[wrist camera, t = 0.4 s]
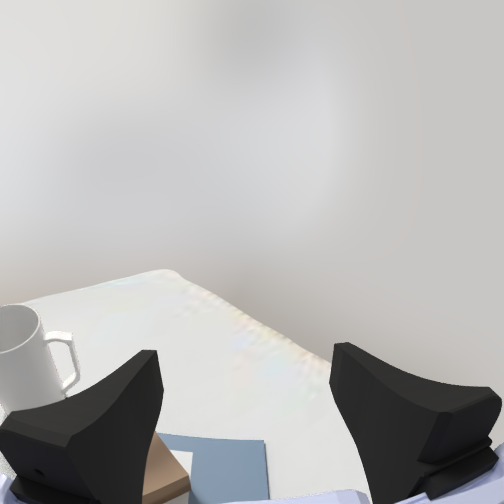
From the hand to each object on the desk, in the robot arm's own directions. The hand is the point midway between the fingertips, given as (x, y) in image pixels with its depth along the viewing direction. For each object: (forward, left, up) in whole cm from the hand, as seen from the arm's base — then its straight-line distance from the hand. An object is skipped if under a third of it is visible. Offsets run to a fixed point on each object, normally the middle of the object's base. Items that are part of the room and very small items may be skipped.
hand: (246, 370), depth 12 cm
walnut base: (+3, +8, -19) cm, 21 cm away
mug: (+10, +22, -19) cm, 31 cm away
